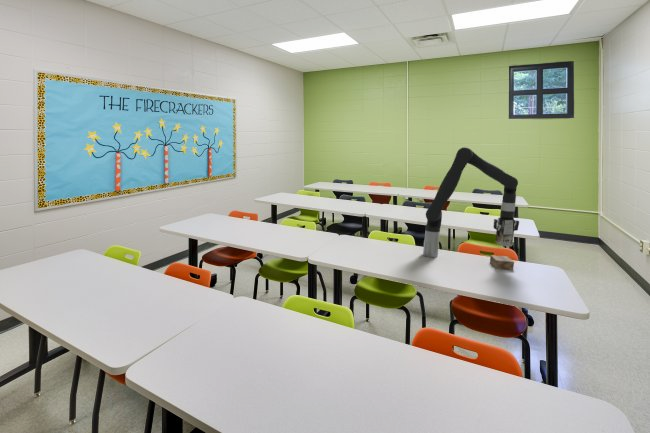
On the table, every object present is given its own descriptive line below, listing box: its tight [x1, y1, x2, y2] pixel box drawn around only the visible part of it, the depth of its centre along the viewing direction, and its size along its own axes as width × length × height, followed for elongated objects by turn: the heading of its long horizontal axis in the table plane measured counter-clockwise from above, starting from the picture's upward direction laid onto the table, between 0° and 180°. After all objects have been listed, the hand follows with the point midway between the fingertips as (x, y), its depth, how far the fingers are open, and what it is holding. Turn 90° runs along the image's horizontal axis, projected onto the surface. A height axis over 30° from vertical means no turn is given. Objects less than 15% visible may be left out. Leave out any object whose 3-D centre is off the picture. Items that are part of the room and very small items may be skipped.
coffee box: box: [495, 217, 516, 247], centre depth 214 cm, size 9×6×16 cm
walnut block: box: [489, 254, 515, 271], centre depth 217 cm, size 10×12×5 cm
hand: (504, 236), depth 214 cm, fingers closed on coffee box, 7 cm apart
